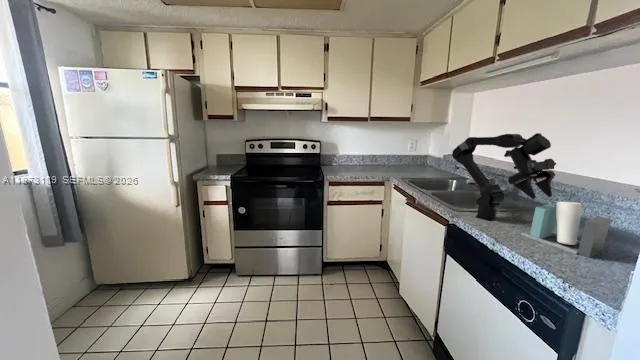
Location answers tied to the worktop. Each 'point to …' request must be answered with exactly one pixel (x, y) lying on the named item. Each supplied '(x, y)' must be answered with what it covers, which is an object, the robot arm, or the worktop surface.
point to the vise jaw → (543, 221)
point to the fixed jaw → (586, 237)
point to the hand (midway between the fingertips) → (542, 197)
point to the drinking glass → (568, 222)
